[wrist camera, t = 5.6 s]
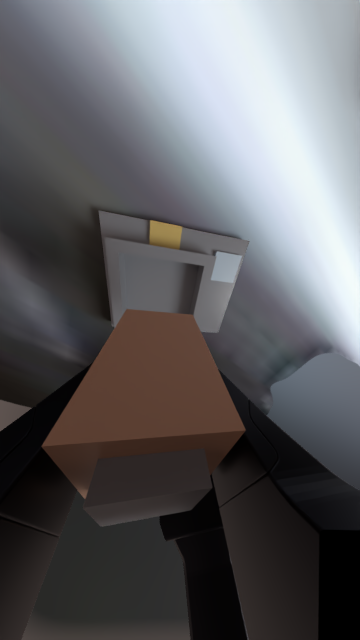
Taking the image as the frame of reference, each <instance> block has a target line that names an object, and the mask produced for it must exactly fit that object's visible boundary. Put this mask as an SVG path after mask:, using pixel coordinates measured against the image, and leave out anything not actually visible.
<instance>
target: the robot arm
mask: <svg viewBox="0 0 360 640" xmlns="http://www.w3.org/2000/svg"><path fill="white" fill-rule="evenodd" d="M92 364H93V363H92ZM92 364H90V365H89V366H88V367H86V368H85V369H84V370H82V371H81V372H80V373H78V374H77V375H76V376H74V377H73V378H72V379H70V380H69V381H68V382H66V383H65V384H64V385H62V386H61V387H60V388H58V389H57V390H56V391H54V392H53V393H52V394H50V395H49V396H48V397H46V398H45V399H44V400H42V401H41V402H40V403H38V404H37V405H36V407H33V408H32V409H30V410H29V411H28V412H26V413H25V414H24V415H22V416H21V417H20V418H19V419H17V420H15V421H14V422H13V423H11V424H10V425H9V426H7V427H6V428H4V429H3V430H2V431H0V640H21V639H22V636H23V633H24V631H25V628H26V626H27V623H28V620H29V618H30V615H31V612H32V610H33V607H34V604H35V601H36V599H37V596H38V594H39V591H40V588H41V586H42V583H43V580H44V578H45V575H46V572H47V570H48V567H49V564H50V562H51V559H52V556H53V553H54V551H55V548H56V546H57V543H58V540H59V536H60V535H61V532H62V529H63V527H64V524H65V521H66V519H67V516H68V513H69V511H70V508H71V505H72V503H73V500H74V498H75V495H76V492H77V489H76V488H75V487H74V485H73V484H72V483H71V482H70V480H69V479H68V478H67V477H66V476H65V474H64V473H63V472H62V471H61V470H60V468H59V467H58V466H57V465H56V464H55V462H54V461H53V460H52V459H51V457H50V456H49V455H48V454H47V453H46V451H45V450H44V449H43V448H42V447H41V446H42V445H43V443H44V442H45V440H46V438H47V437H48V435H49V433H50V432H51V430H52V429H53V427H54V425H55V424H56V422H57V421H58V419H59V417H60V416H61V414H62V412H63V411H64V409H65V408H66V406H67V404H68V403H69V401H70V400H71V398H72V396H73V395H74V393H75V391H76V390H77V388H78V387H79V385H80V383H81V382H82V380H83V379H84V377H85V375H86V374H87V372H88V371H89V369H90V367H91V366H92ZM218 371H219V373H220V375H221V377H222V379H223V382H224V384H225V386H226V388H227V390H228V392H229V395H230V397H231V399H232V401H233V403H234V406H235V408H236V410H237V412H238V414H239V416H240V419H241V421H242V423H243V425H244V427H245V430H246V431H245V432H244V433H243V435H242V436H241V437H240V438H239V440H238V441H237V442H236V443H235V445H234V446H233V447H232V448H231V450H230V451H229V452H228V453H227V455H226V456H225V457H224V458H223V460H222V461H221V462H220V463H219V465H218V466H217V467H216V468H215V470H214V471H213V472H212V473H211V475H210V478H211V483H212V489H211V490H210V491H209V492H208V493H207V494H206V495H205V496H204V497H203V498H202V499H201V500H200V501H199V502H198V503H197V504H196V505H195V506H194V507H193V509H192V510H190V511H184V512H179V513H173V514H168V515H162V516H160V525H161V529H162V532H163V535H164V538H165V540H166V541H170V540H174V542H175V544H176V546H177V549H178V551H179V553H180V555H181V557H182V560H183V566H184V575H185V585H186V596H187V606H188V617H189V627H190V636H191V640H360V490H358V489H356V488H355V487H353V486H351V485H350V484H348V483H347V482H345V481H344V480H342V479H341V478H339V477H338V476H337V475H335V474H334V473H333V472H331V471H330V470H329V469H328V468H326V467H325V466H324V465H323V464H322V463H320V462H319V461H318V460H317V459H316V458H314V457H313V456H312V455H311V454H310V453H309V452H308V451H306V450H305V449H304V448H303V447H301V445H299V444H298V443H297V442H296V441H295V440H293V439H292V438H291V437H290V436H289V435H288V434H287V433H285V432H284V431H283V430H282V429H281V428H280V427H279V426H277V425H276V424H275V423H274V422H273V421H272V420H271V419H270V418H268V417H267V416H266V415H265V414H264V413H263V412H262V411H261V410H260V409H259V408H258V407H257V406H256V405H255V404H254V403H253V402H252V401H251V400H248V398H247V397H246V396H245V395H244V394H243V393H242V392H241V391H240V390H239V389H238V388H237V387H236V386H235V385H234V384H233V383H232V382H231V381H230V380H229V379H228V378H227V377H226V376H225V375H224V374H223V373H222V372H221V371H220V370H219V369H218Z"/></svg>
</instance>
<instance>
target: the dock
mask: <svg viewBox="0 0 360 640" xmlns="http://www.w3.org/2000/svg"><path fill="white" fill-rule="evenodd" d="M99 219H100V227H101V236H102V245H103V253H104V262H105V271H106V280H107V288H108V297H109V306H110V314H111V323H112V326H114V329H115V327H116V325H117V324H118V322H119V320H120V319H121V317H122V316H123V314H124V312H125V311H126V309H133V310H144V311H156V312H167V313H179V314H191V315H193V316H194V318H195V320H196V323H197V325H198V327H199V329H200V331H201V332H214V333H218V331H219V328H220V325H221V323H222V320H223V317H224V314H225V311H226V308H227V305H228V302H229V299H230V296H231V293H232V291H233V288H234V285H235V282H236V279H237V276H238V273H239V270H240V267H241V264H242V262H243V259H244V256H245V253H246V250H247V247H248V244H249V241H247V240H242V239H237V238H232V237H227V236H222V235H217V234H212V233H207V232H202V231H198V230H193V229H188V228H183V227H181V226H177V225H172V224H167V223H162V222H157V221H152V220H150V221H148V220H144V219H139V218H134V217H129V216H124V215H119V214H114V213H109V212H104V211H99Z"/></svg>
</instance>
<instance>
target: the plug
mask: <svg viewBox="0 0 360 640" xmlns="http://www.w3.org/2000/svg"><path fill="white" fill-rule="evenodd" d="M245 431H246V430H245V427H244V425H243V423H242V421H241V419H240V416H239V414H238V412H237V410H236V408H235V406H234V403H233V401H232V399H231V397H230V395H229V392H228V390H227V388H226V386H225V384H224V382H223V379H222V377H221V375H220V373H219V371H218V368H217V366H216V364H215V362H214V360H213V358H212V355H211V353H210V351H209V349H208V347H207V344H206V342H205V340H204V338H203V336H202V334H201V331H200V329H199V327H198V325H197V323H196V320H195V318H194V316H193V315H191V314H179V313H167V312H156V311H144V310H133V309H126V311H125V312H124V314H123V316H122V317H121V319H120V320H119V322H118V324H117V325H116V327H115V329H114V330H113V332H112V333H111V335H110V337H109V338H108V340H107V341H106V343H105V345H104V346H103V348H102V350H101V351H100V353H99V354H98V356H97V358H96V359H95V361H94V362H93V364H92V366H91V367H90V369H89V371H88V372H87V374H86V375H85V377H84V379H83V380H82V382H81V383H80V385H79V387H78V388H77V390H76V391H75V393H74V395H73V396H72V398H71V400H70V401H69V403H68V404H67V406H66V408H65V409H64V411H63V412H62V414H61V416H60V417H59V419H58V421H57V422H56V424H55V425H54V427H53V429H52V430H51V432H50V433H49V435H48V437H47V438H46V440H45V442H44V443H43V445H42V446H41V447H42V448H43V449H44V450H45V451H46V453H47V454H48V455H49V456H50V457H51V459H52V460H53V461H54V462H55V464H56V465H57V466H58V467H59V468H60V470H61V471H62V472H63V473H64V474H65V476H66V477H67V478H68V479H69V480H70V482H71V483H72V484H73V485H74V487H75V488H76V489H77V490H78V491H79V493H80V494H81V495H82V496H83V497H84V499H85V502H84V505H83V509H84V510H85V511H86V512H87V513H88V514H89V515H90V516H91V517H92V518H93V519H94V520H95V521H96V522H97V523H98V524H99V525H100V526H101V527H102V526H107V525H113V524H119V523H124V522H129V521H135V520H140V519H146V518H152V517H157V516H162V515H168V514H173V513H179V512H184V511H190V510H192V509H193V507H194V506H195V505H196V504H197V503H198V502H199V501H200V500H201V499H202V498H203V497H204V496H205V495H206V494H207V493H208V492H209V491H210V490H211V489H212V483H211V478H210V475H211V473H212V472H213V471H214V470H215V468H216V467H217V466H218V465H219V463H220V462H221V461H222V460H223V458H224V457H225V456H226V455H227V453H228V452H229V451H230V450H231V448H232V447H233V446H234V445H235V443H236V442H237V441H238V440H239V438H240V437H241V436H242V435H243V433H244V432H245Z"/></svg>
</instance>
